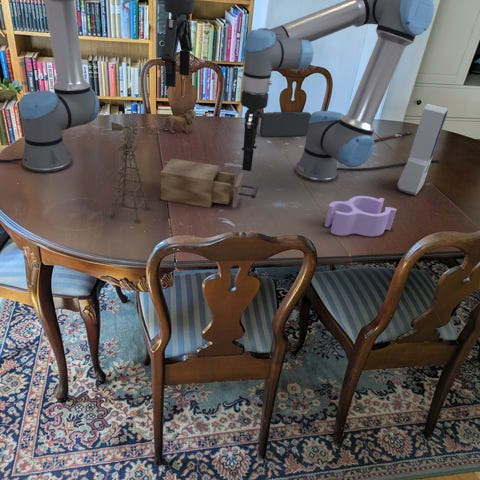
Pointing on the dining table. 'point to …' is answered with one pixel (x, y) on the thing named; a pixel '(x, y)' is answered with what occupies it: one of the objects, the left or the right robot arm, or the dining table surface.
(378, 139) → the sword
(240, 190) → the drawer
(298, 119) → the handheld gaming console
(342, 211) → the clip
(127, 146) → the miniature windmill
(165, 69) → the left robot arm
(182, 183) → the cabinet
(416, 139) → the electronic device
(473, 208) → the dining table surface
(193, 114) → the lion figurine
